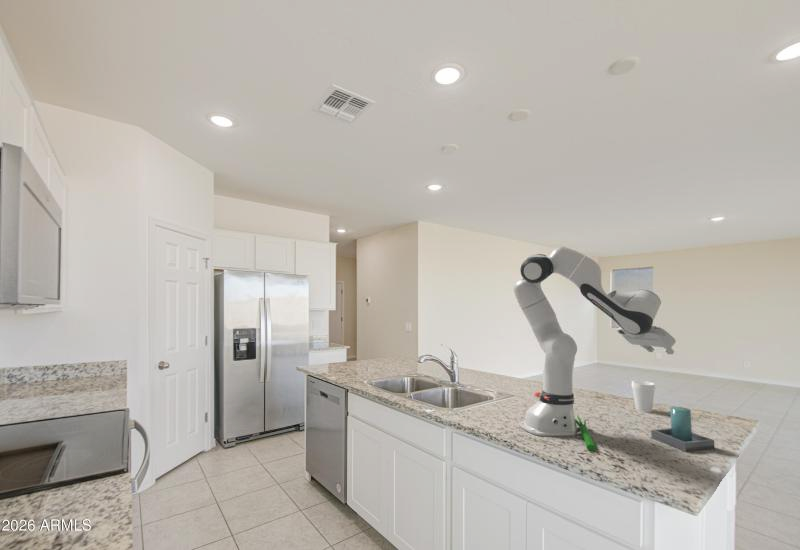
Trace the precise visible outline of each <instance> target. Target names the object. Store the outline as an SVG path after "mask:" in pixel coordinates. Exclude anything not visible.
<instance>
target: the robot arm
mask: <svg viewBox="0 0 800 550" xmlns="http://www.w3.org/2000/svg"><path fill="white" fill-rule="evenodd" d="M519 271H520V275H521V277H522V278H521V279H519V280H518V281H516V283H515V284H514V286H513V293H514V297H515V299H516V300H517V303H518V305H519V307H520V309H521V311H522V313H523V315H524V316H525V318H526V319H527V321H528V323H529V326H530V327H531V329H532V332H533V334H534V336H535V338H536V340H537V342H538V345H539V347H540V348H541V350H542V351H543V352H544V353H545V360H544V368H543V371H542V377H543V378H542V379H543V381H542V386H543V387H542V391H541V392H539V391H535V392H534V396H535V397H537V398H539V400H538V401H537V402H535V403H534V404H533V405H532V406H531V407H529V408H528V409H527V410H526V412H525V417H524V418H525V419H524V420H522V421H519V422H518V423H519V426H520V428H521V429H523V430H524V431H526V432H528V433H530V434H532V435H535V436H538V437H539V436H541V437H542V436H543V437H545V436H546V437H547V436H549V437H551V436H552V437H557V436H558V437H559V436H561V437H564V436H569V437H570V436H571V437H572V436H577V434H576V433H577V432H579V429H578V425H577V424H576V422H575V419H576V417H575V409H574V403H575V396H574V393H573V392H574V391H573V371H574V366H575V360H576V359H575V358H576V355H577V352H578V345H577V343H576V341H575V339H574V338H573V337H572V336H571V335H570V334H568V333H565V332H564V331H563V329H562V328H561V325H560V322H559V319H558V318H557V315H556V314H557V313H556V312H555V311H554V309H553V307H552V305H551V304H550V302H549V300H548V298H547V296H546V295H545V293H544V291H543V289H542V286H541V283H542V282H544V281H545V280H546V279H548V277H550V276H551V275H552V274H557V275H561V276H562V277H564V278H566V279H567V280H569V281H571V282H572V283H573V284H574V285H575V286H576V287H578V289H579V290H580V291H579V292H580V293H581V295H582V296H583V297H584V298H585V299H586V300H587V301H589V302H590V303H591V304H593V306H595V307H596V308H598V309H599V310H601V312H603V313H604V314H606V315H607V316H608V317H609V318H611V319H612V320H613V321H614V322H615V323H616V324H617V325H618V326H619V327H618V328H617V330H616V332H617V333H618V334H620V335H621V336H622V337H623V338H624V339H625V340H626V341H627V342H628V343H629V344H631V345H634V346H640V347H641V348H643V349H644V350H646V351H647V352H648V353H654V351H655V349H654V348H653V347H657V348H663V349H665V353H667V354H668V355H673V354H675V351H674V349H673V348H672V347H673V346H674V345H675V344H676V339H675V337H673V336H672V335H671V334H670V333H669V332H668V331H666V330H665V329H664V328H662V327H660V326H659V327H658V326H656V325H653V323H654V320H655V318H656V317H657V314H658V312H659V309H660V307H661V304H662V301H661V299H660V297H659V296H658V295H657V294H656V293H654V291H652V290H649V289H648V290H647V289H638V290H635V291H628V292H627V291H625V292H624V291H620V290H617V289H615V290H613V291H611V292H609V293H608V294H607V293H606V292H605V290H604V288H603V286H602V269H601V266H600V265H599V263H597V262H596V261H595V260H594V259H593V258H591V257H588V256H587V255H585V254H583V253H581V252H579V251H576V250H574V249H572V248H570V247H567V246H558V247H556V248H554V249H553V250H552V251H551V253H550V254H548V255H546V254H543V253H542V254H541V253H537V254H532V255H530V256H529V257H527V258H526V259H525V260H523V262H522V263H521V266H520V270H519Z"/></svg>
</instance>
